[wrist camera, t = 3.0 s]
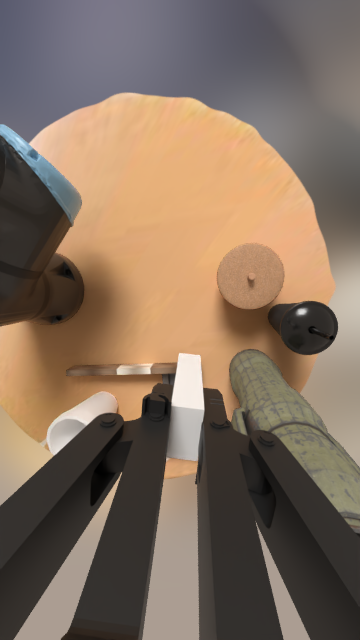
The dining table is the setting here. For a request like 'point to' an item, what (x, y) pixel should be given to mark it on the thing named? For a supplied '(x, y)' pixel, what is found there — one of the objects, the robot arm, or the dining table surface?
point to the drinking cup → (304, 326)
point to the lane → (127, 370)
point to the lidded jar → (250, 276)
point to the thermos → (294, 429)
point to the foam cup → (78, 419)
